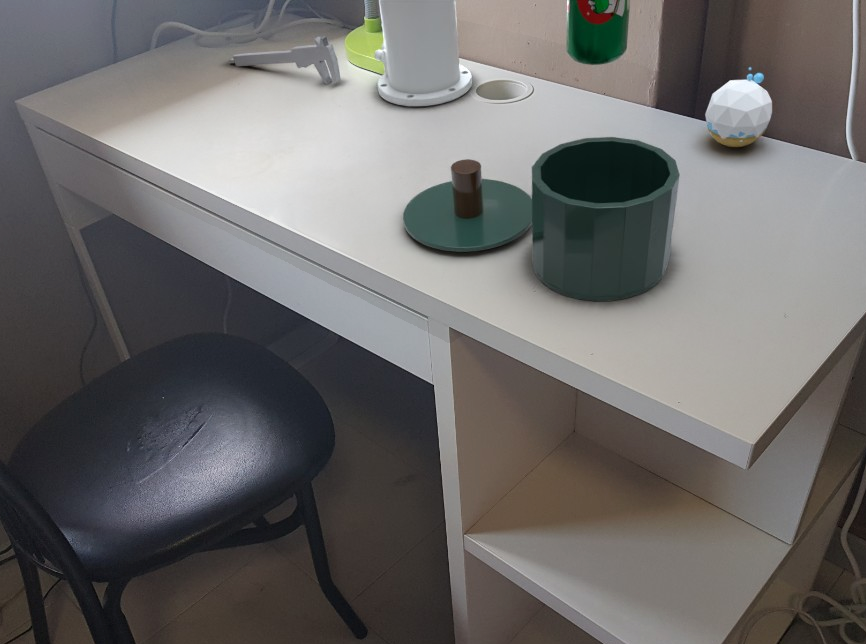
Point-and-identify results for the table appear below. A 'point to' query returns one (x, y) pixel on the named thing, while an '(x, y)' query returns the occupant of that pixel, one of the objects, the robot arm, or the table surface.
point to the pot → (603, 217)
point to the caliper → (298, 58)
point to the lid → (468, 212)
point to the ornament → (739, 112)
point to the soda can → (597, 30)
